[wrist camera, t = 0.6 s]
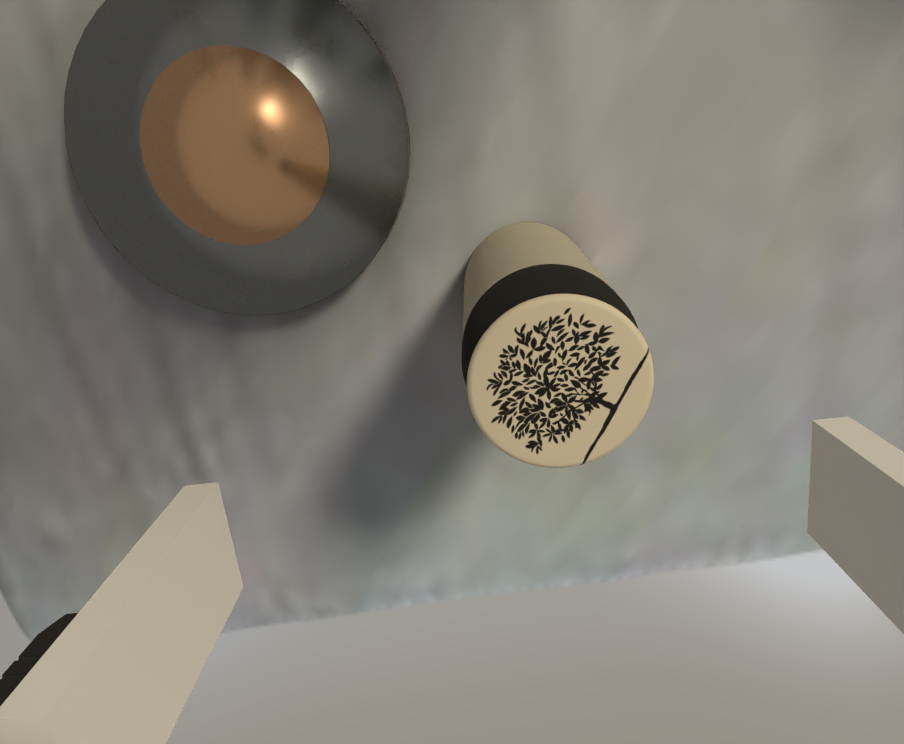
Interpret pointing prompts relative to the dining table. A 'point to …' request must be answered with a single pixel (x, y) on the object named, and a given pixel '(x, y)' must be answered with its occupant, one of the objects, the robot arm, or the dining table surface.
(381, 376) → the dining table surface
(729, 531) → the dining table surface
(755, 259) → the dining table surface
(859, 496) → the robot arm
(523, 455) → the travel mug
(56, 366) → the dining table surface
